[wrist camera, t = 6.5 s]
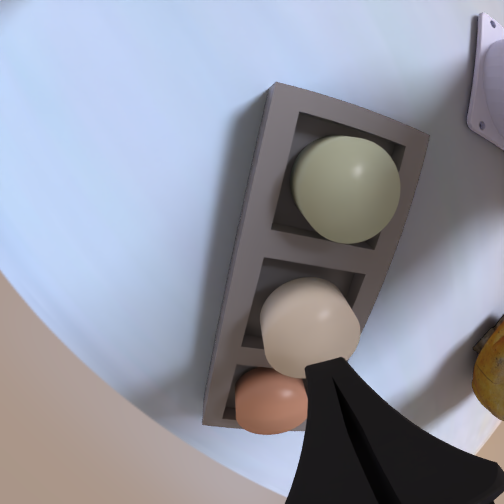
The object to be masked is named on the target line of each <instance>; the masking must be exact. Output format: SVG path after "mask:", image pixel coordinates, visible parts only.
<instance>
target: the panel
mask: <svg viewBox="0 0 504 504" xmlns="http://www.w3.org/2000/svg"><path fill="white" fill-rule="evenodd" d="M329 135H343V136H350V137H356V138H362V139H366V140H369V141H371V142H374V143H375V144H377V145H379V146H380V147H381V148H383V149H384V150H385V151H386V152H387V153H388V154H389V156H390V157H391V158H392V160H393V161H394V163H395V165H396V168H397V170H398V173H399V178H400V199H399V203H398V206H397V209H396V211H395V213H394V215H393V217H392V219H391V220H390V222H389V223H388V224H387V225H386V226H385V228H384V229H382V230H381V231H380V232H379V233H378V234H376V235H375V236H373V237H371V238H370V239H367V240H365V241H362V242H358V243H352V244H344V243H337V242H334V241H331V240H329V239H326V238H325V237H323V236H321V235H320V234H319V233H318V232H317V231H316V230H315V229H314V228H313V227H312V226H311V225H310V223H309V222H308V221H307V220H306V218H305V217H304V216H303V214H302V213H301V212H300V210H299V209H298V208H297V206H296V204H295V202H294V200H293V197H292V194H291V188H290V176H291V171H292V168H293V165H294V162H295V160H296V158H297V157H298V155H299V154H300V152H301V151H302V150H303V149H304V148H305V147H306V146H307V145H308V144H310V143H311V142H313V141H314V140H316V139H318V138H321V137H324V136H329ZM429 137H430V135H428V134H426V133H424V132H422V131H419V130H417V129H415V128H413V127H410V126H408V125H406V124H403V123H401V122H398V121H396V120H394V119H391V118H389V117H386V116H383V115H381V114H378V113H376V112H373V111H370V110H368V109H365V108H362V107H359V106H356V105H353V104H351V103H348V102H345V101H342V100H339V99H335V98H332V97H329V96H326V95H322V94H319V93H316V92H312V91H309V90H305V89H302V88H298V87H294V86H290V85H286V84H282V83H278V82H275V83H274V84H273V85H272V86H271V87H270V88H269V91H268V95H267V100H266V104H265V108H264V113H263V117H262V121H261V126H260V130H259V135H258V139H257V143H256V148H255V152H254V157H253V161H252V166H251V170H250V175H249V179H248V184H247V189H246V193H245V198H244V202H243V207H242V212H241V216H240V221H239V226H238V230H237V235H236V240H235V245H234V249H233V254H232V259H231V264H230V269H229V273H228V278H227V283H226V288H225V293H224V298H223V303H222V308H221V313H220V318H219V323H218V328H217V333H216V338H215V343H214V348H213V354H212V359H211V364H210V369H209V374H208V380H207V385H206V390H205V396H204V401H203V419H202V425H207V426H216V427H226V428H238V429H243V428H242V427H241V426H240V425H239V424H238V422H237V420H236V407H235V386H236V383H237V381H238V380H239V379H240V377H242V376H243V375H244V374H245V373H247V372H248V371H250V370H252V369H255V368H258V367H267V368H273V367H272V366H271V365H270V364H269V362H268V361H267V359H266V355H265V351H264V344H263V338H262V332H261V325H260V313H261V309H262V307H263V304H264V303H265V301H266V299H267V298H268V297H269V295H270V294H271V293H272V292H273V291H274V290H276V289H277V288H278V287H280V286H281V285H283V284H285V283H287V282H289V281H291V280H294V279H298V278H304V277H316V278H321V279H324V280H327V281H329V282H331V283H333V284H334V285H335V286H336V287H337V288H338V289H339V290H340V291H341V293H342V294H343V296H344V297H345V299H346V301H347V302H348V304H349V306H350V307H351V309H352V311H353V312H354V314H355V316H356V317H357V319H358V321H359V324H360V332H361V333H362V330H363V328H364V326H365V324H366V322H367V319H368V317H369V315H370V313H371V310H372V308H373V306H374V303H375V301H376V299H377V296H378V294H379V292H380V289H381V287H382V284H383V282H384V279H385V277H386V274H387V272H388V269H389V266H390V264H391V261H392V259H393V256H394V253H395V250H396V248H397V245H398V242H399V239H400V236H401V234H402V231H403V228H404V225H405V222H406V219H407V216H408V213H409V210H410V206H411V203H412V200H413V197H414V193H415V190H416V187H417V183H418V180H419V176H420V172H421V169H422V165H423V161H424V157H425V154H426V150H427V145H428V141H429ZM361 333H360V335H361ZM348 360H349V359H348ZM348 360H347V362H348ZM302 380H303V383H304V387H305V390H306V394H307V398H308V391H307V383H306V378H302ZM306 421H307V418H306V420H305V421H304V422H303V423H302V424H300V425H299V426H297V427H296V428H294V429H292V430H289V431H305V428H306Z"/></svg>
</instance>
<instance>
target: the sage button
mask: <svg viewBox="0 0 504 504" xmlns="http://www.w3.org/2000/svg"><path fill="white" fill-rule="evenodd" d="M290 188H291V194H292V197H293V200H294V202H295V204H296V206H297V208H298V209H299V210H300V212H301V213H302V214H303V216H304V217H305V218H306V220H307V221H308V222H309V223H310V225H311V226H312V227H313V228H314V229H315V230H316V231H317V232H318V233H319V234H320V235H321V236H323V237H325V238H326V239H329V240H331V241H334V242H337V243H344V244H352V243H358V242H362V241H365V240H367V239H370V238H371V237H373V236H375V235H376V234H378V233H379V232H380V231H381V230H382V229H384V228H385V226H386V225H387V224H388V223H389V222H390V220H391V219H392V217H393V215H394V213H395V211H396V209H397V206H398V203H399V199H400V178H399V173H398V170H397V168H396V165H395V163H394V161H393V160H392V158H391V157H390V156H389V154H388V153H387V152H386V151H385V150H384V149H383V148H381V147H380V146H379V145H377V144H375V143H374V142H371V141H369V140H366V139H362V138H356V137H350V136H343V135H329V136H324V137H321V138H318V139H316V140H314V141H313V142H311V143H310V144H308V145H307V146H306V147H305V148H304V149H303V150H302V151H301V152H300V154H299V155H298V157H297V158H296V160H295V162H294V165H293V168H292V171H291V176H290Z"/></svg>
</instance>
